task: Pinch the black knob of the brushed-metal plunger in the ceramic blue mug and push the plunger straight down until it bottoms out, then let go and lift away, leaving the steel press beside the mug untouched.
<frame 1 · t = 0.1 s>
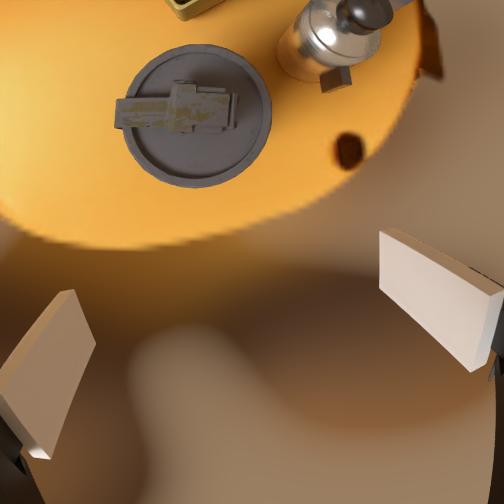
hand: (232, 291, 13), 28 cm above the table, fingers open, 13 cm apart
canister: (197, 128, 36), on the table
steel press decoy: (306, 54, 35), on the table
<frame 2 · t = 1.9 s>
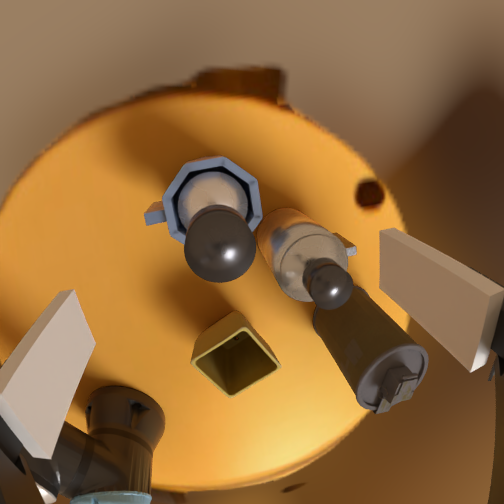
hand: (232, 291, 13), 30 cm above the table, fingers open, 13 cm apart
canister: (342, 314, 50), on the table
flower pot: (230, 329, 48), on the table
plunger: (215, 221, 24), point 18 cm above the table, slide at 0.0 cm
blue mug: (210, 190, 41), on the table
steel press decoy: (285, 236, 45), on the table
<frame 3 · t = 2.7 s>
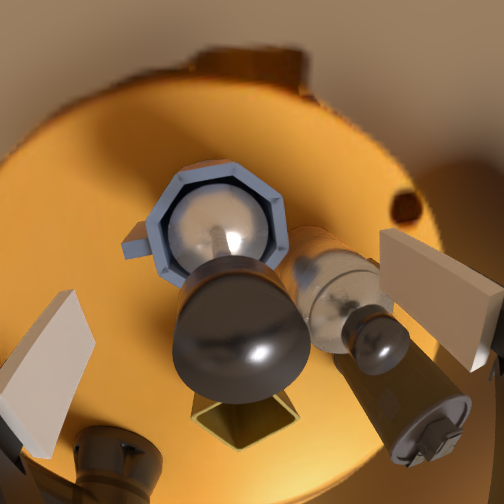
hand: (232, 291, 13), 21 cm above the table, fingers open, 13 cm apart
canister: (367, 347, 41), on the table
flower pot: (237, 369, 39), on the table
plunger: (224, 268, 15), point 18 cm above the table, slide at 0.0 cm
blue mug: (212, 204, 32), on the table
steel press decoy: (306, 260, 36), on the table
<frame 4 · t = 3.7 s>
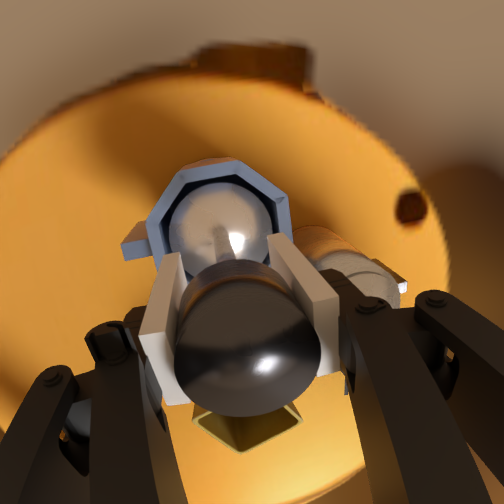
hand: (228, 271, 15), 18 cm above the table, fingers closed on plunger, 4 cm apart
flower pot: (239, 370, 39), on the table
plunger: (228, 271, 15), point 18 cm above the table, slide at 0.0 cm, touching gripper
blue mug: (214, 203, 31), on the table
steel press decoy: (310, 261, 35), on the table
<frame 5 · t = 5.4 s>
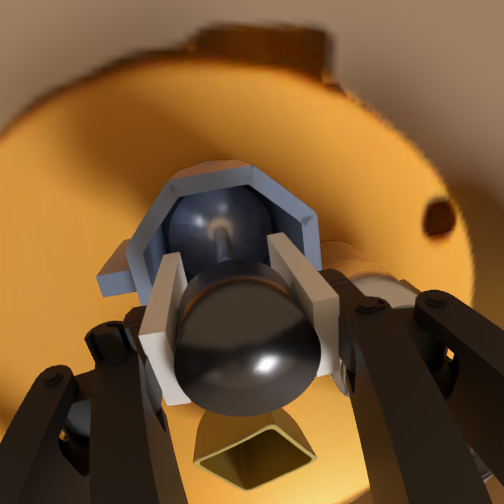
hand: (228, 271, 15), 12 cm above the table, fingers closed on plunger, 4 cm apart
flower pot: (245, 400, 33), on the table
plunger: (228, 271, 15), point 12 cm above the table, slide at 5.5 cm, touching gripper
blue mug: (216, 214, 26), on the table
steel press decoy: (328, 281, 30), on the table
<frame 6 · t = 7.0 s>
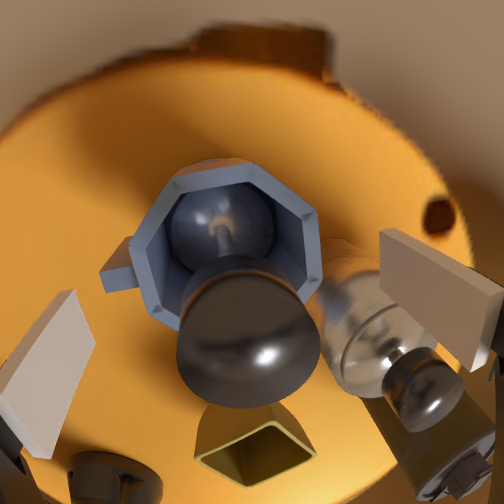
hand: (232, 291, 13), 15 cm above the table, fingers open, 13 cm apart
canister: (389, 370, 36), on the table
flower pot: (245, 397, 34), on the table
plunger: (229, 267, 15), point 12 cm above the table, slide at 5.5 cm
blue mug: (218, 212, 26), on the table
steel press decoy: (328, 278, 30), on the table
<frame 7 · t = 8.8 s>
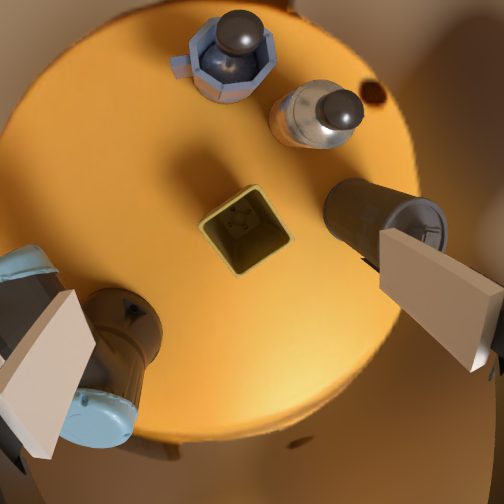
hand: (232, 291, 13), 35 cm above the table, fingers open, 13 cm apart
canister: (353, 211, 50), on the table
flower pot: (239, 216, 47), on the table
plunger: (233, 50, 29), point 12 cm above the table, slide at 5.5 cm
blue mug: (225, 74, 40), on the table
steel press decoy: (295, 120, 44), on the table
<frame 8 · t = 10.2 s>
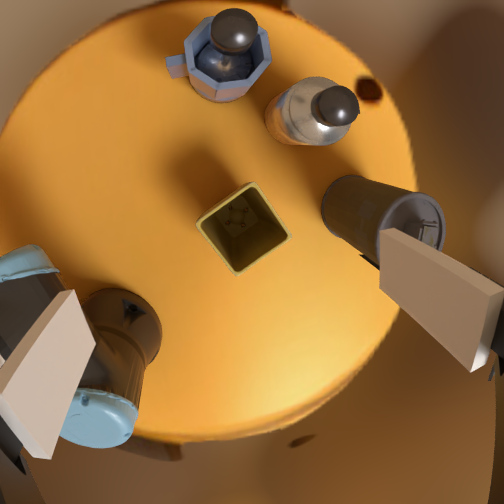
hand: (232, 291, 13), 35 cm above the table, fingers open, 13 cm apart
canister: (350, 208, 50), on the table
flower pot: (237, 214, 47), on the table
plunger: (228, 49, 29), point 12 cm above the table, slide at 5.5 cm
blue mug: (221, 73, 40), on the table
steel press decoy: (291, 118, 44), on the table
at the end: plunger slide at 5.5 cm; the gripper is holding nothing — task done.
